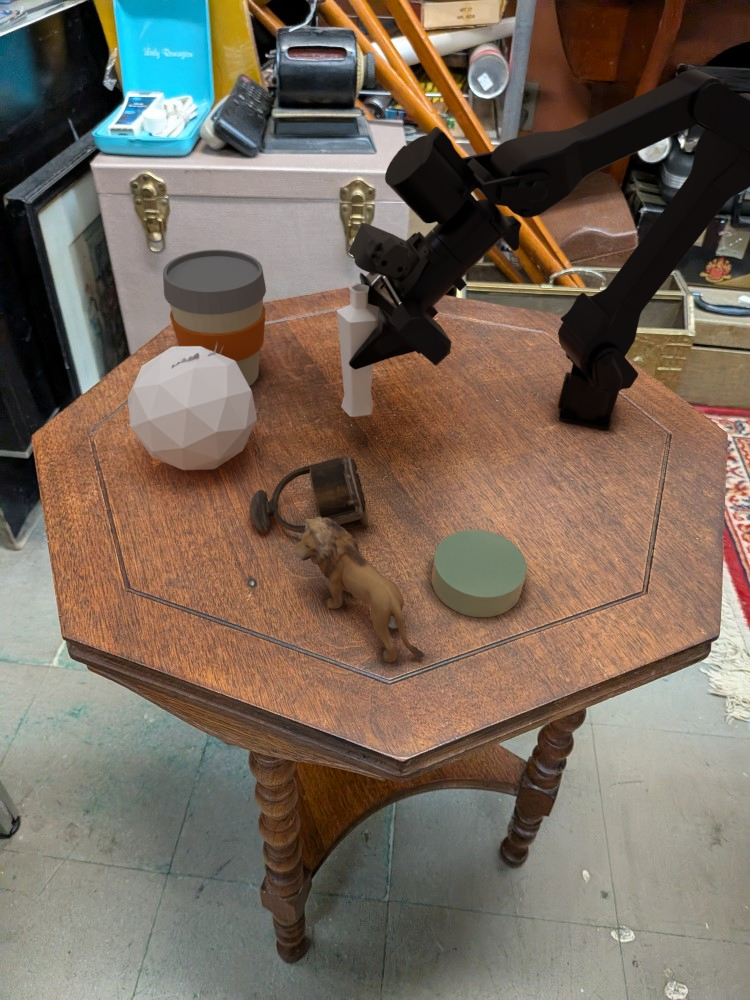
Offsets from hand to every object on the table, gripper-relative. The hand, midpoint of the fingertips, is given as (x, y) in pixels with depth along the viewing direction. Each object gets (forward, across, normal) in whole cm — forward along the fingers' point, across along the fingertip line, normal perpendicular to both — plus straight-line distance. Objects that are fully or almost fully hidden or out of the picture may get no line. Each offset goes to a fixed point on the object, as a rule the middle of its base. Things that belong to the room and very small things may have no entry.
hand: (346, 355), depth 80 cm
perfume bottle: (+4, 0, +6) cm, 7 cm away
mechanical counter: (+13, +11, +4) cm, 18 cm away
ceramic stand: (+3, +25, +14) cm, 29 cm away
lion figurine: (+12, +26, +5) cm, 30 cm away
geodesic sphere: (+21, -1, -4) cm, 21 cm away
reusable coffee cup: (+18, -18, 0) cm, 26 cm away
